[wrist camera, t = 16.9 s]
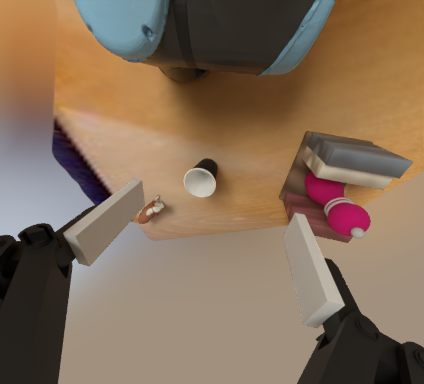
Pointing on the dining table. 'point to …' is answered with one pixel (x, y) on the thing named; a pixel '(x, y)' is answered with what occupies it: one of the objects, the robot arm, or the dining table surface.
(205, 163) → the dixie cup
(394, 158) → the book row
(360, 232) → the pepper mill
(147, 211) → the bull figurine
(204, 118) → the dining table surface
